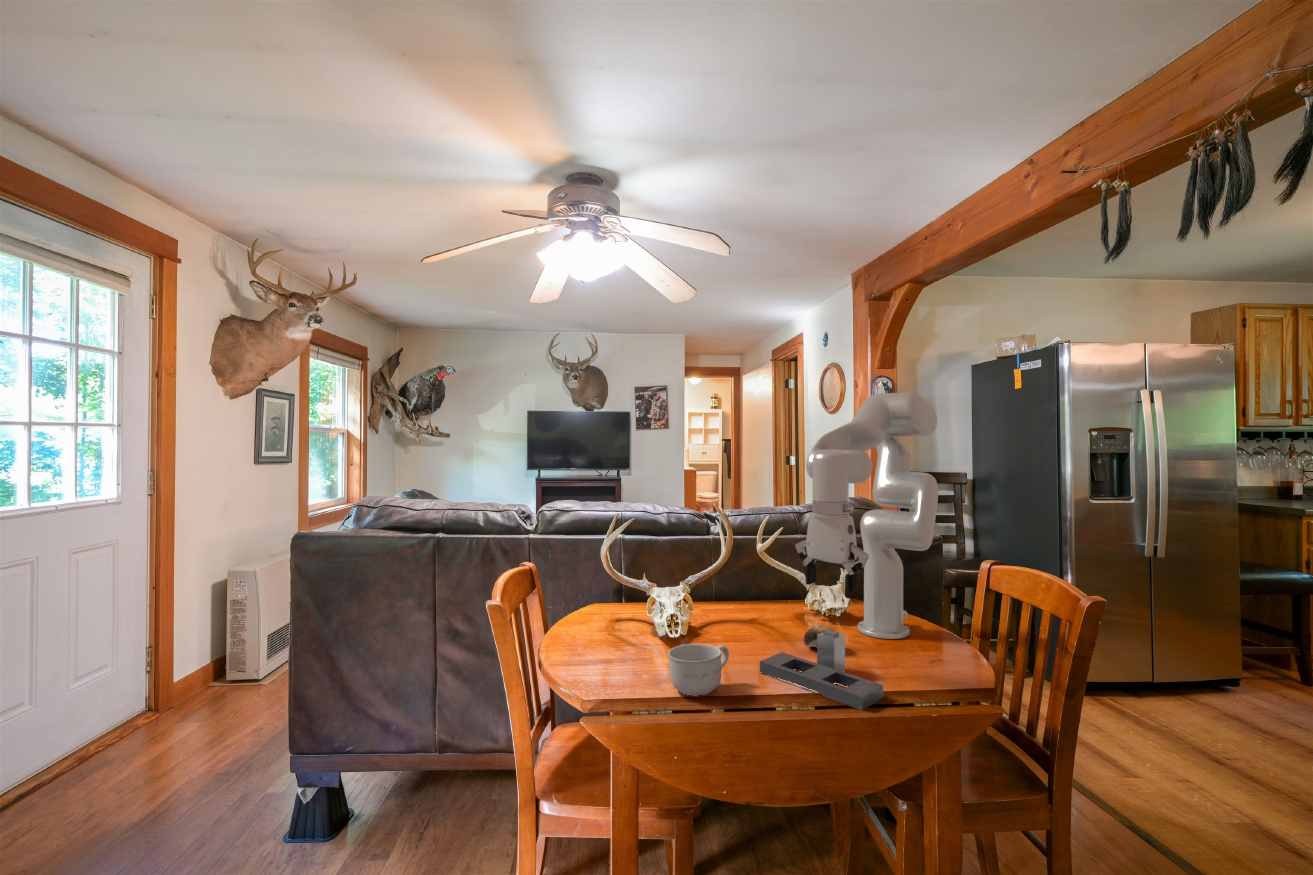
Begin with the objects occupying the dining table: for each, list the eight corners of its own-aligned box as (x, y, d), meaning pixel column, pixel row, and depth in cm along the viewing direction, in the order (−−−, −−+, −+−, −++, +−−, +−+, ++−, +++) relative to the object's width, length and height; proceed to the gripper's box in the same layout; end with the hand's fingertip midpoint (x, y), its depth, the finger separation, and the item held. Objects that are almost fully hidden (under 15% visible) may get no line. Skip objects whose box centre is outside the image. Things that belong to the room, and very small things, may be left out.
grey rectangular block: (827, 666, 135) (827, 627, 134) (844, 671, 131) (844, 632, 131) (817, 671, 132) (817, 631, 132) (834, 677, 129) (834, 636, 129)
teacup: (682, 706, 115) (682, 664, 115) (659, 684, 125) (659, 645, 125) (745, 693, 121) (745, 653, 121) (718, 673, 131) (718, 636, 131)
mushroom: (840, 644, 139) (830, 618, 142) (807, 655, 140) (797, 629, 144) (844, 650, 145) (834, 625, 149) (812, 661, 147) (803, 635, 150)
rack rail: (759, 672, 131) (759, 661, 131) (781, 663, 136) (781, 651, 136) (862, 710, 113) (862, 697, 113) (883, 697, 119) (883, 684, 119)
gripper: (876, 511, 127) (876, 592, 127) (806, 503, 140) (806, 577, 140) (858, 514, 122) (858, 599, 122) (786, 506, 135) (786, 583, 135)
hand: (830, 587), depth 131 cm, fingers open, 9 cm apart
